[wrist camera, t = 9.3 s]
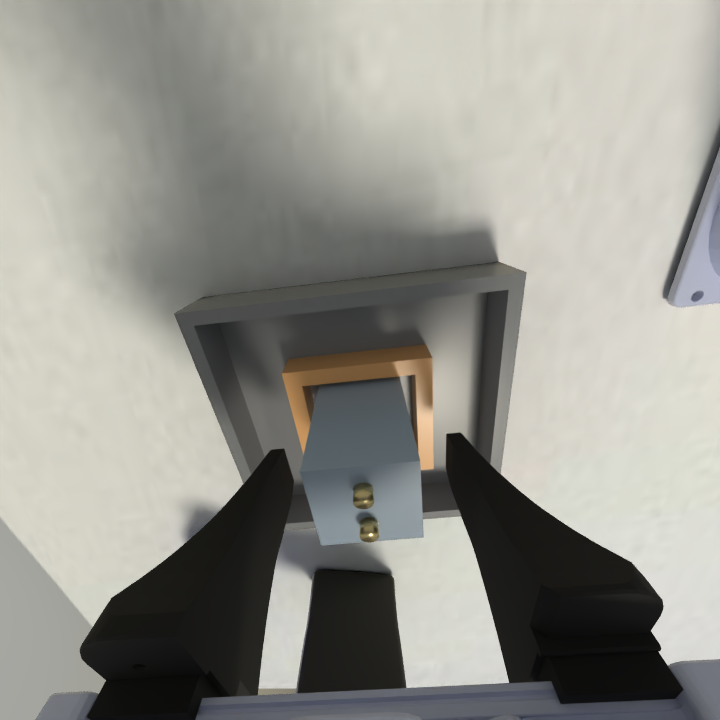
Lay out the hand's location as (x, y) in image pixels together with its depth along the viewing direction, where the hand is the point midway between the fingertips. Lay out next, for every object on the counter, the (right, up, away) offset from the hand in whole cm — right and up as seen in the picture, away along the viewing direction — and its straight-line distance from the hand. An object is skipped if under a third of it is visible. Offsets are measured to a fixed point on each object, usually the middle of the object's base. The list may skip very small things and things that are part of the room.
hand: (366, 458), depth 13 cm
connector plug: (0, +2, +3) cm, 4 cm away
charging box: (0, +2, +4) cm, 4 cm away
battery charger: (-1, -14, +12) cm, 19 cm away
